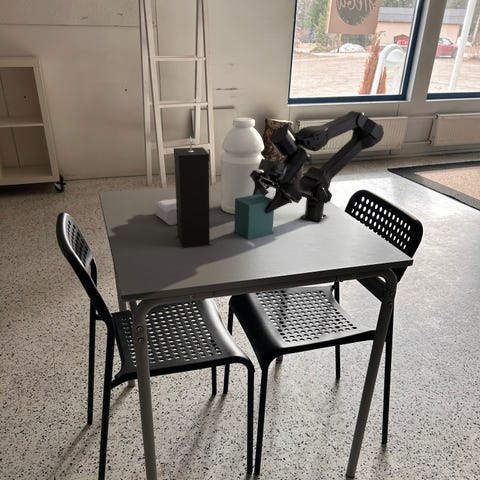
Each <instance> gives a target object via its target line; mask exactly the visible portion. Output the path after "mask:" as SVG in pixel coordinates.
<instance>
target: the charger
mask: <svg viewBox="0 0 480 480" xmlns="http://www.w3.org/2000/svg"><path fill="white" fill-rule="evenodd" d="M155 215H156V216H157V217H159V218H160V219H161V220H162V221H164V222H165V223H166V224H167V225H169V226H173V225H177V208H176V198H172V199H161V200H158V201H157V202H156V203H155Z"/></svg>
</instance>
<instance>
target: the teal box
mask: <svg viewBox="0 0 480 480" xmlns="http://www.w3.org/2000/svg"><path fill="white" fill-rule="evenodd" d="M272 199H273V198H270V197H268V196H267V195H265V196H264V195H262V194H257V195H251V196H246V197H241V198H236V199H235V214H234V224H233V226H234V227H233V228H234V229H233V231H234V232H235V233H236V234H238V235H240V236H242V237H243V238H245V239H247V240H250V239H255V238H259V237H263V236H267V235H271V234H273V232H274V218H275V217H274V216H275V210H274V211H272V212H270V213H268V214H266V213H265V210H266V208H267V206H268V205H269V203H270V202H271V200H272Z"/></svg>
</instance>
